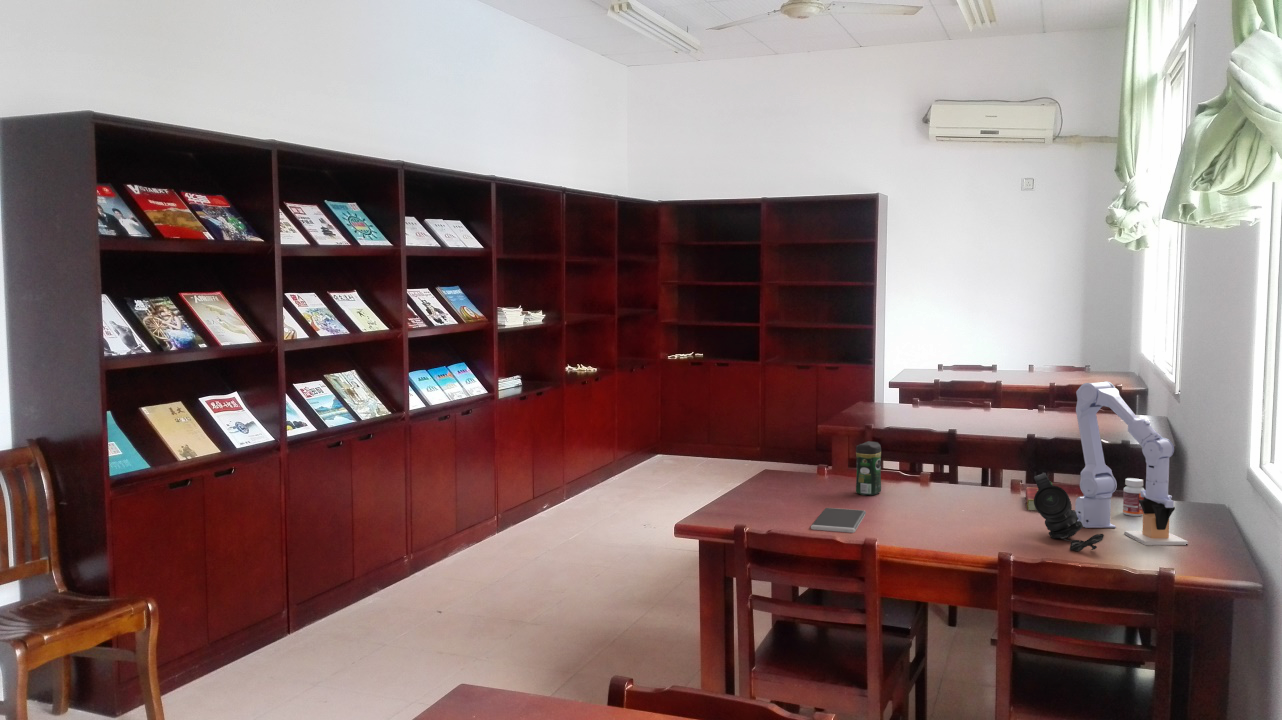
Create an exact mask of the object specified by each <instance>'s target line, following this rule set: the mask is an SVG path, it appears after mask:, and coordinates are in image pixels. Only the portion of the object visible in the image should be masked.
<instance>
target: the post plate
mask: <svg viewBox="0 0 1282 720" xmlns="http://www.w3.org/2000/svg"><path fill="white" fill-rule="evenodd" d="M1123 534H1124V535H1125V536H1127V537H1129V538H1131V539H1133V540H1134V541H1136V542H1138V543H1140V544H1143V545H1144V546H1187V545H1186V544H1189V541H1188V540H1186V539H1183V538H1181V537H1180V536H1177V535H1175V534H1173V533H1171V532H1169V538H1150V537H1148V536H1146V535H1144V534H1142V530H1124V533H1123Z"/></svg>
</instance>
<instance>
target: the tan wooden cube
mask: <svg viewBox="0 0 1282 720" xmlns="http://www.w3.org/2000/svg"><path fill="white" fill-rule="evenodd" d="M1141 528H1142V530H1141V531H1142V534H1144V535H1146V536H1148V537H1150V538H1169V533H1170V519H1169V520H1168V523H1167V526H1166V529H1165V530H1158V529H1157V527H1156V517H1155V514H1143V516H1142V527H1141Z"/></svg>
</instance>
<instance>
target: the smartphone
mask: <svg viewBox="0 0 1282 720" xmlns="http://www.w3.org/2000/svg"><path fill="white" fill-rule="evenodd" d="M865 516H866V510H863V509H849V508H839V507H838V508H834V507H826V508H824V509H823V510H822V511H821V513H820V514H819V515H818V516H817V518H816V519H815V520H814V522H812V524H811V526H810V529H811V530H814V531H825V532H839V533H840V532H841V533H850V534H852V533H854V534H855V532H856V531H857V529H858V527H859V526H860V525H861V522H862V521H863V519H864V518H865Z"/></svg>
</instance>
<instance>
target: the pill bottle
mask: <svg viewBox="0 0 1282 720" xmlns="http://www.w3.org/2000/svg"><path fill="white" fill-rule="evenodd" d="M1124 485H1126V486H1125V487H1123V494H1122V495H1123V498H1122V499H1123V501H1122V504H1123V505H1122V513H1123V514H1124V515H1125V516H1126V515H1127V516H1130V517H1131V516H1132V517H1143V514H1144V512H1143V509H1142V507H1141V505H1140V503H1139V500H1141V499H1144V497H1141V490H1145V488H1144V479H1139V478H1134V477H1127V478H1125V482H1124Z"/></svg>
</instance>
